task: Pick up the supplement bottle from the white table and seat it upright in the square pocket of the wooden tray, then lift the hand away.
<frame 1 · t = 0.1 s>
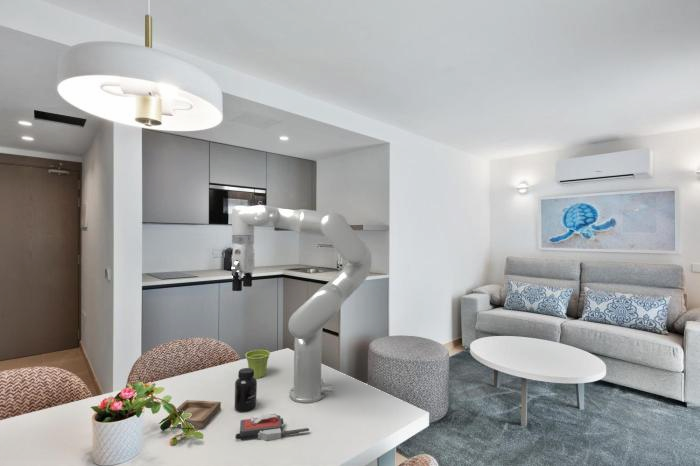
hand: (242, 288, 125), 37 cm above the table, tool pointing down, fingers open, 9 cm apart
wooden tray: (194, 418, 107), on the table
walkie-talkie: (272, 433, 101), on the table
plant pot: (257, 376, 139), on the table
supplement bottle: (245, 408, 114), on the table
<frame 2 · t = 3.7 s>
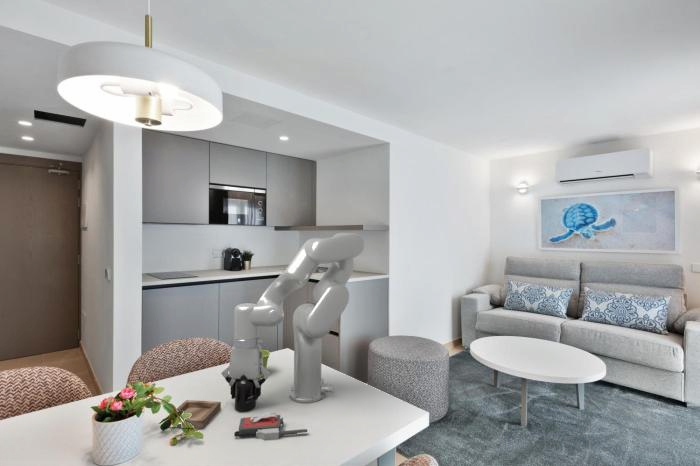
hand: (245, 397, 114), 3 cm above the table, tool pointing down, fingers closed on supplement bottle, 6 cm apart
supplement bottle: (245, 408, 114), on the table, touching gripper
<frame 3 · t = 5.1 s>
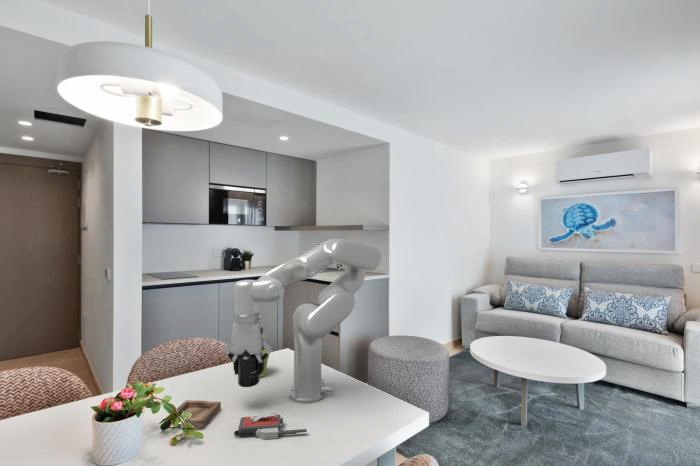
hand: (248, 372, 114), 11 cm above the table, tool pointing down, fingers closed on supplement bottle, 6 cm apart
supplement bottle: (249, 383, 114), point 7 cm above the table, touching gripper
everything else where it was.
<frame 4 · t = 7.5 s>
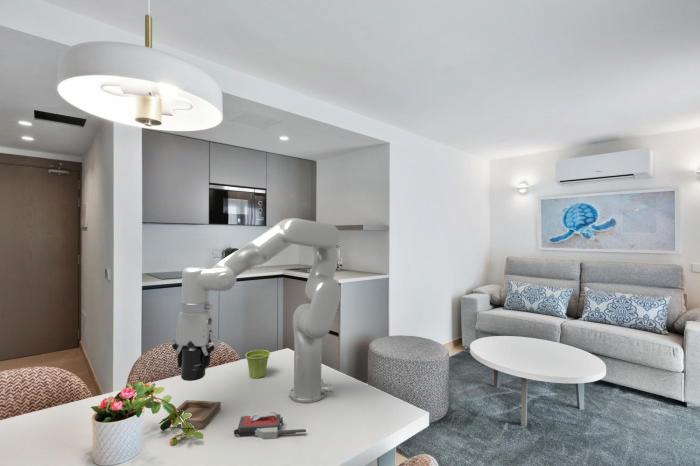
hand: (193, 366, 107), 16 cm above the table, tool pointing down, fingers closed on supplement bottle, 6 cm apart
supplement bottle: (193, 377, 107), point 12 cm above the table, touching gripper
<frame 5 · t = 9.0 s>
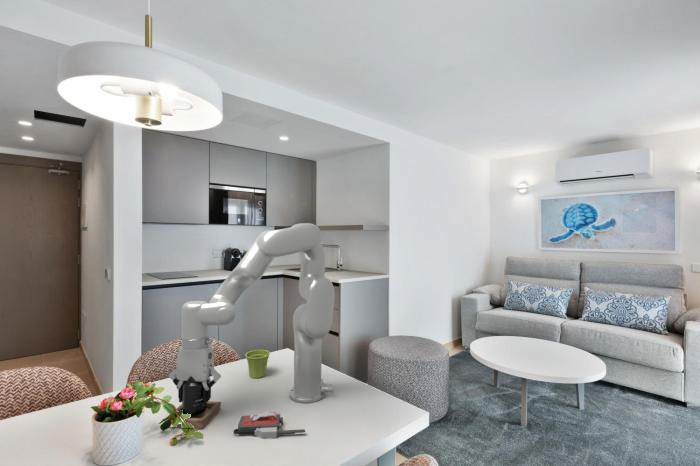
hand: (194, 400, 107), 5 cm above the table, tool pointing down, fingers closed on supplement bottle, 6 cm apart
supplement bottle: (194, 412, 107), point 2 cm above the table, touching gripper
when the fingers open (5 cm above the table, at t = 9.8 s): supplement bottle drops 1 cm, resting on wooden tray.
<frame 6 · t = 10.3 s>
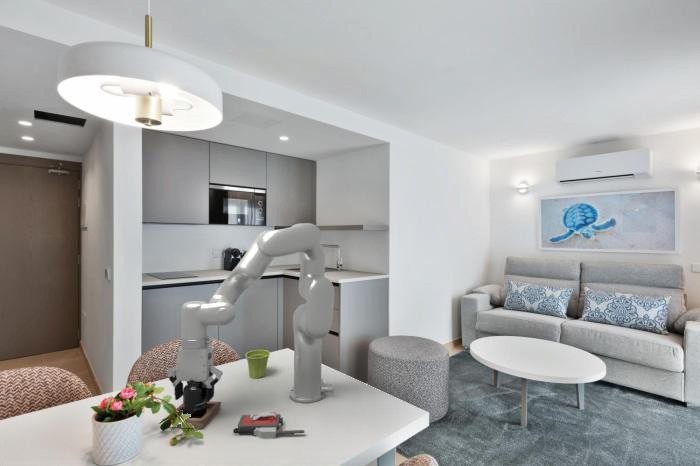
hand: (194, 398, 107), 6 cm above the table, tool pointing down, fingers open, 9 cm apart
supplement bottle: (195, 415, 107), point 1 cm above the table, touching wooden tray
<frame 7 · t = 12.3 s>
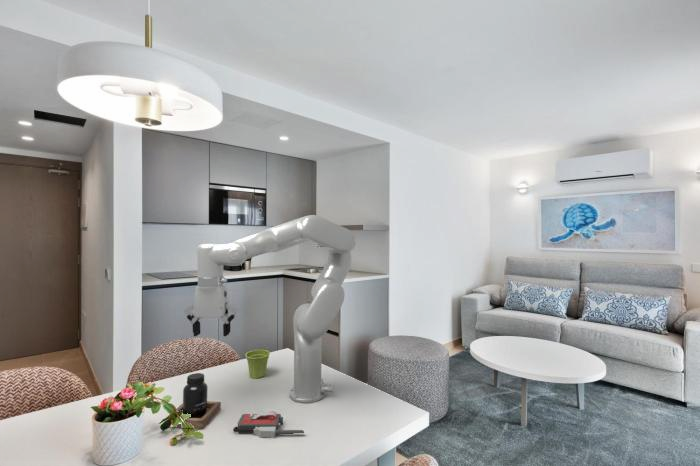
hand: (211, 335, 113), 24 cm above the table, tool pointing down, fingers open, 9 cm apart
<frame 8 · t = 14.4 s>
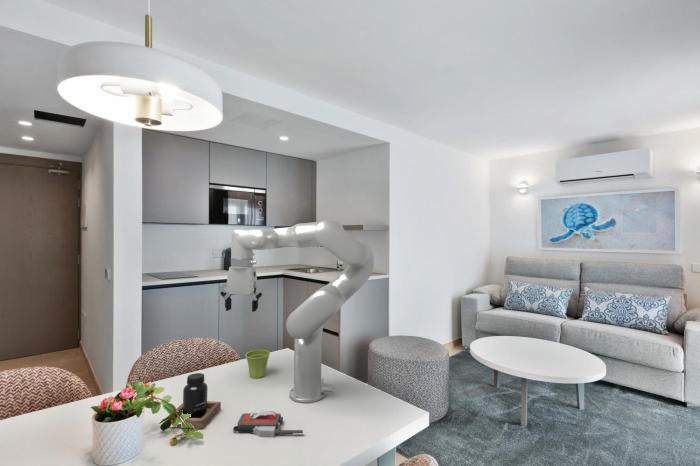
hand: (241, 310, 127), 28 cm above the table, tool pointing down, fingers open, 9 cm apart
at the end: supplement bottle 0.3 cm off-centre on the wooden tray, point 0.6 cm above the wooden tray's base; supplement bottle tilted 0°; the gripper is holding nothing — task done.
